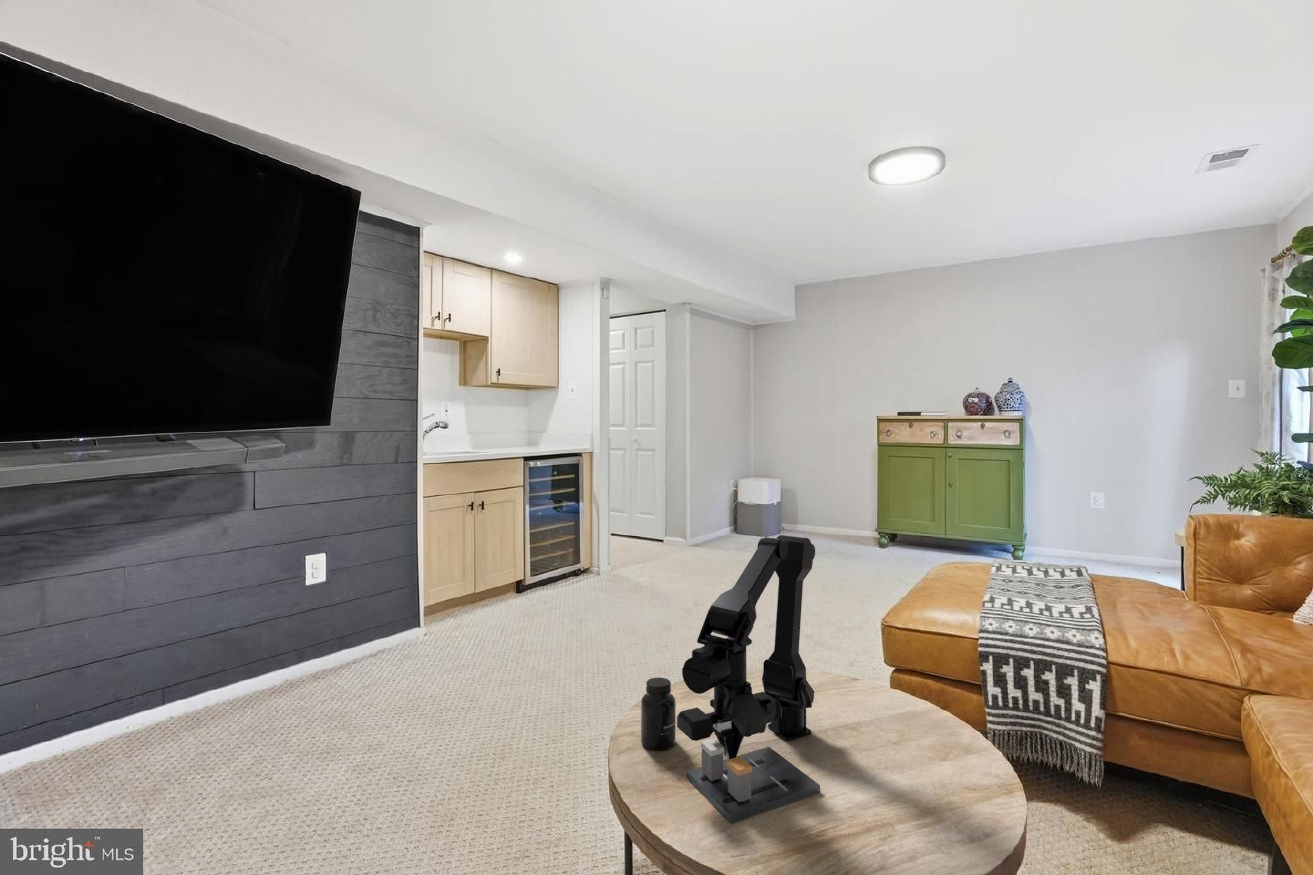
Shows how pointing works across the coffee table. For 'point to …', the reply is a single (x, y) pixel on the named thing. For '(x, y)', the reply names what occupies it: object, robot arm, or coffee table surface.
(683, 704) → the coffee table surface
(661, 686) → the supplement bottle
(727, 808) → the board
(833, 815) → the coffee table surface
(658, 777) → the coffee table surface
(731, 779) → the fader
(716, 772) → the fader
